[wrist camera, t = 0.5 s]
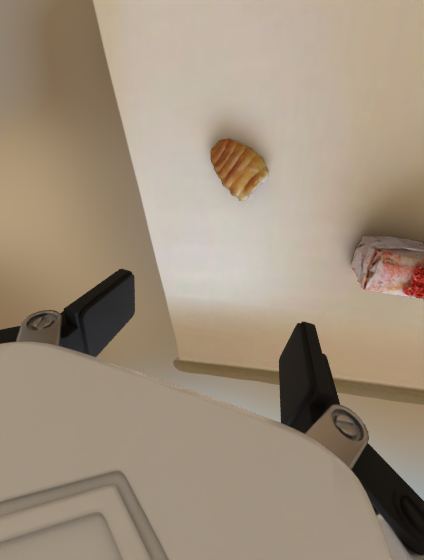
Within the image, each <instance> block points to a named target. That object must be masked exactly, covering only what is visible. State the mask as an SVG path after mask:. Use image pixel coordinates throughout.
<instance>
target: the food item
mask: <svg viewBox="0 0 424 560" xmlns="http://www.w3.org/2000/svg"><path fill="white" fill-rule="evenodd" d="M351 268H352V269H353V271H354V272H355V274H356V276H357V278H358V282H360V284H361V287H362V288H363V289H364V290H371V291H376V292H382V293H388V294H394V295H401V296H410V298H415V297H416V298H423V299H424V243H422V242H419V241H413V240H409V239H406V238H403V239H399V238H395V237H390V236H363V237H362V240H361V242H360V243H359V245H358V248H357V249H356V250H355V253H354V256H353V261H352V264H351Z"/></svg>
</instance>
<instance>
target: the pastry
mask: <svg viewBox="0 0 424 560" xmlns="http://www.w3.org/2000/svg"><path fill="white" fill-rule="evenodd" d="M211 162H212V164H213V166H214V170H215V171H216V173H217V175H218V176H219V178H220V179H221V181H222V184H223V186H225V187H227V188H228V189H229V190H230V193H231V194H232V195H233V196H236V197H237V198H238V199H239V201H245V200H246V199H247V198H248V197H249V195H250V194H252V192H253V191H254V190H255V189H256V187H257V186H258V185H260V184H262V183H263V182H264V181H265V180H266V179H267V177H268V173H269V171H268V168H267V167H266V165H265V162H264V159H263V158H262V157H261V156H259V155H258V154H257V153H255V152H254V151H253V150H252V149H251V148H249V147H247V146H245V145H243V144H241V143H238V142H236V141H234V140H231V139H229V138H228V139H223V140H220V141H218V142H217V143H216V144H215V146H214V147H213V148H212V149H211Z"/></svg>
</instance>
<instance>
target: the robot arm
mask: <svg viewBox="0 0 424 560" xmlns="http://www.w3.org/2000/svg"><path fill="white" fill-rule="evenodd" d="M134 290H135V289H134V275H133V274H132V272H131V271H127V270H124V269H119V270H118V271H117V272H115V273H114V274H112V275H111V276H110V277H108V278H107V279H105V280H104V281H102V282H101V283H100V284H98V285H97V286H96V287H94V288H93V289H91V290H90V291H88V292H87V293H86V294H84V295H83V296H82V297H80V298H79V299H77V300H76V301H74V302H73V303H71V304H70V305H69V306H67V307H66V308H64V311H63V312H62V313H59V312H57V311H52V310H44V311H39V312H36V313H33V314H31V315H29V316H28V317H26V318H25V319H24V321H23V322H22V324H21V326H17V327H13V328H7V329H2V330H0V560H424V501H423V500H422V499H421V498H420V497H419V496H418V495H417V494H416V493H415V492H414V491H413V489H412V488H411V487H410V486H409V485H408V484H407V483H406V482H405V481H404V480H403V479H402V478H401V477H400V476H399V475H398V474H397V473H396V472H395V471H394V470H393V469H392V468H391V467H390V466H389V465H388V464H387V462H386V461H385V460H384V459H383V458H382V457H381V456H380V455H379V454H378V453H377V452H376V451H375V450H374V449H373V448H372V447H371V446H370V445H369V444H368V440H369V435H368V431H367V428H366V426H365V424H364V423H363V421H362V420H361V419H360V418H359V417H358V416H357V414H355V413H354V412H353V411H352V410H350V409H349V408H347V407H345V406H342V405H340V402H339V399H338V395H337V392H336V388H335V385H334V381H333V378H332V374H331V370H330V367H329V363H328V360H327V357H326V355H325V354H322V351H321V347H320V343H319V339H318V336H317V332H316V328H315V325H314V324H310V323H307V322H302V323H301V324H300V323H298V324H297V325H296V327H295V329H294V331H293V333H292V335H291V337H290V339H289V341H288V343H287V344H286V346H285V348H284V350H283V352H282V354H281V356H280V359H279V379H280V407H281V423H280V422H277V421H274V420H272V419H269V418H266V417H264V416H261V415H258V414H256V413H253V412H250V411H248V410H245V409H242V408H239V407H237V406H234V405H231V404H228V403H225V402H222V401H220V400H217V399H214V398H211V397H208V396H206V395H203V394H200V393H197V392H194V391H192V390H189V389H186V388H183V387H180V386H177V385H174V384H172V383H169V382H166V381H163V380H160V379H157V378H154V377H151V376H149V375H146V374H143V373H140V372H137V371H134V370H131V369H128V368H125V367H122V366H120V365H117V364H114V363H111V362H108V361H105V360H102V359H99V358H96V356H97V355H98V354H99V353H100V352H101V351H102V350H103V349H104V348H105V347H106V346H107V344H108V343H109V342H110V341H111V340H112V339H113V338H114V337H115V336H116V334H117V333H118V332H119V331H120V330H121V329H122V328H123V327H124V326H125V324H126V323H127V322H128V321H129V320H130V319H131V318H132V317H133V315H134V312H135V294H134V293H135V291H134Z"/></svg>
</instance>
